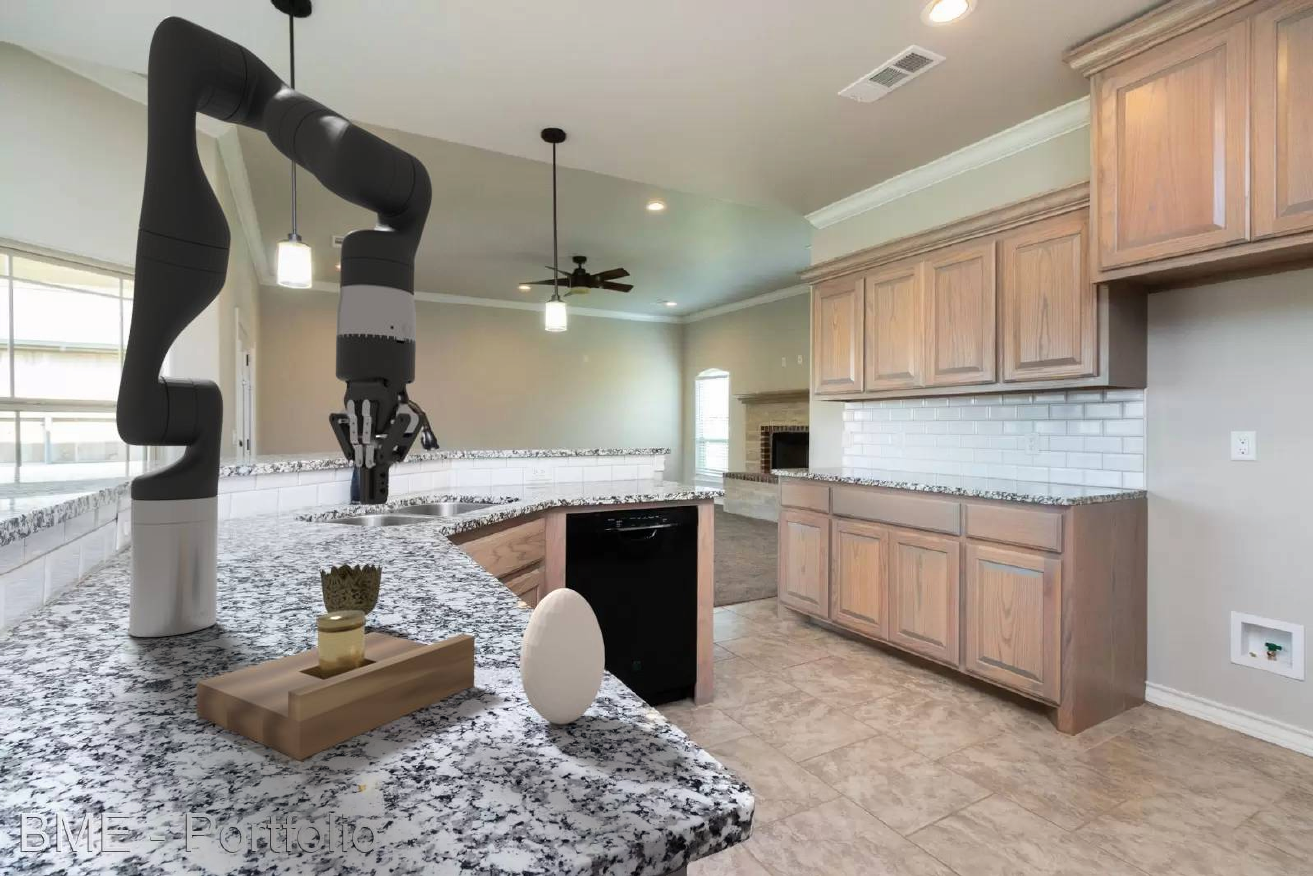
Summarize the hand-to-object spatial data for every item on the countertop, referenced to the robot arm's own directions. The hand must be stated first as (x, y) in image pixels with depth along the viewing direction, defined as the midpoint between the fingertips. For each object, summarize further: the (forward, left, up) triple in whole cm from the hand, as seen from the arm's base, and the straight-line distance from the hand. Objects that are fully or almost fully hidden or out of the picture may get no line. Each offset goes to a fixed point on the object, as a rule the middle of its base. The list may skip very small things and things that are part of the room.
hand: (373, 503), depth 66 cm
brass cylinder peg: (+2, -4, -18) cm, 19 cm away
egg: (+23, +3, -19) cm, 29 cm away
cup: (-19, +11, -19) cm, 29 cm away
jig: (+2, -4, -18) cm, 19 cm away
